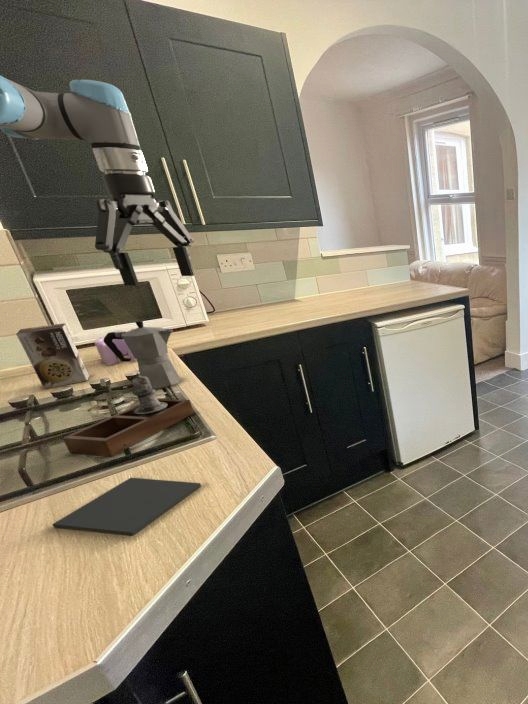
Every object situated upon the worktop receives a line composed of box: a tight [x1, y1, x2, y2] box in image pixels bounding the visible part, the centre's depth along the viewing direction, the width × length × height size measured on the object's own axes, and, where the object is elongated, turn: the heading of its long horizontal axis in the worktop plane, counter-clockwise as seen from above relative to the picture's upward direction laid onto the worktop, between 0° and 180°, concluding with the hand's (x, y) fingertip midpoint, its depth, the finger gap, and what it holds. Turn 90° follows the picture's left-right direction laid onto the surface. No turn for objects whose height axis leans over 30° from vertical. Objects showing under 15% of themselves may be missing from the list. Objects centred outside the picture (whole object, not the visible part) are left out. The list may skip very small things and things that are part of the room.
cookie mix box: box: [16, 322, 90, 390], centre depth 117 cm, size 9×6×16 cm
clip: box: [93, 328, 137, 366], centre depth 142 cm, size 20×12×7 cm, turn 32°
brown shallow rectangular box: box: [62, 397, 195, 457], centre depth 90 cm, size 10×19×4 cm, turn 171°
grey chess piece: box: [131, 372, 168, 417], centre depth 93 cm, size 6×6×12 cm
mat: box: [51, 477, 202, 536], centre depth 67 cm, size 14×12×1 cm
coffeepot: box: [104, 320, 182, 390], centre depth 114 cm, size 15×9×18 cm, turn 110°
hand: (162, 280), depth 93 cm, fingers open, 13 cm apart
